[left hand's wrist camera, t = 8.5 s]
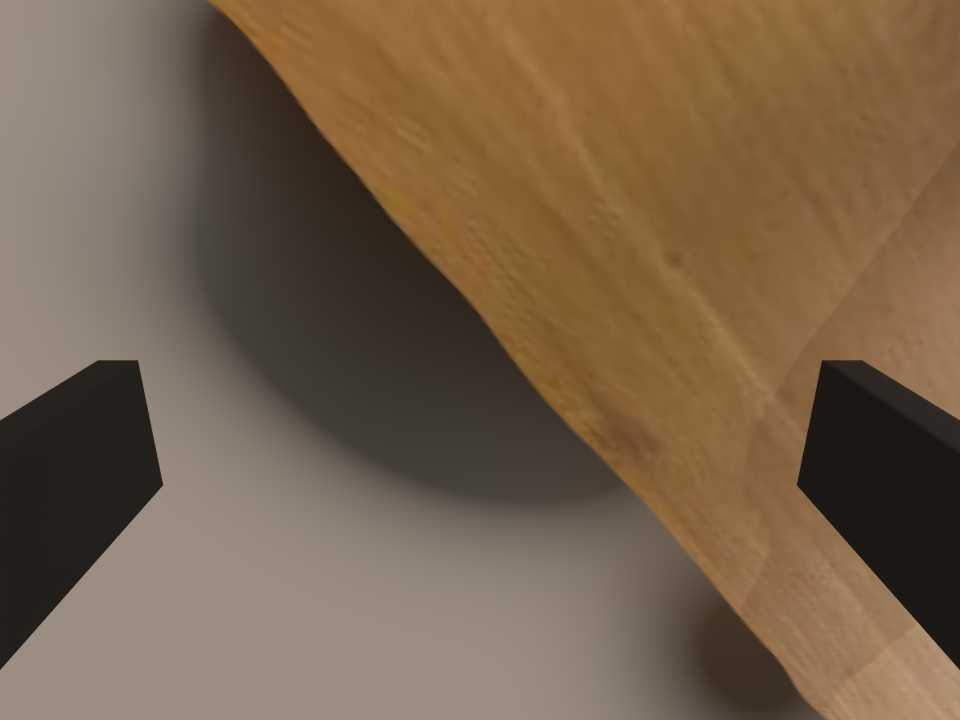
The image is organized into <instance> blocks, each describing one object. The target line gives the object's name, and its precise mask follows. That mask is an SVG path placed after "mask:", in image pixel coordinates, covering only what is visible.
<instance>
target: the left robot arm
mask: <svg viewBox="0 0 960 720" xmlns="http://www.w3.org/2000/svg"><path fill="white" fill-rule="evenodd" d="M162 486H163V482H162V477H161V472H160V467H159V462H158V458H157V453H156V448H155V443H154V438H153V433H152V428H151V423H150V418H149V413H148V408H147V403H146V398H145V393H144V388H143V383H142V378H141V373H140V368H139V363H138V361H137V360H98V361H96V362H95V363H93V364H91V365H90V366H88V367H86V368H85V369H83V370H82V371H80V372H78V373H77V374H75V375H74V376H72V377H70V378H69V379H67V380H65V381H64V382H62V383H60V384H59V385H57V386H56V387H54V388H52V389H51V390H49V391H47V392H46V393H44V394H43V395H41V396H39V397H38V398H36V399H34V400H33V401H31V402H29V403H28V404H26V405H25V406H23V407H21V408H20V409H18V410H16V411H15V412H13V413H12V414H10V415H8V416H7V417H5V418H3V419H2V420H0V670H1V668H2V667H3V666H4V665H5V664H6V663H7V662H8V660H9V659H10V658H11V657H12V656H13V655H14V654H15V653H16V651H17V650H18V649H19V648H20V647H21V646H22V645H23V643H24V642H25V641H26V640H27V639H28V638H29V637H30V635H31V634H32V633H33V632H34V631H35V630H36V629H37V628H38V626H39V625H40V624H41V623H42V622H43V621H44V620H45V619H46V617H47V616H48V615H49V614H50V613H51V612H52V611H53V609H54V608H55V607H56V606H57V605H58V604H59V603H60V602H61V600H62V599H63V598H64V597H65V596H66V595H67V594H68V592H69V591H70V590H71V589H72V588H73V587H74V586H75V584H76V583H77V582H78V581H79V580H80V579H81V578H82V577H83V575H84V574H85V573H86V572H87V571H88V570H89V569H90V567H91V566H92V565H93V564H94V563H95V562H96V561H97V560H98V558H99V557H100V556H101V555H102V554H103V553H104V552H105V550H106V549H107V548H108V547H109V546H110V545H111V544H112V543H113V541H114V540H115V539H116V538H117V537H118V536H119V535H120V533H121V532H122V531H123V530H124V529H125V528H126V527H127V526H128V524H129V523H130V522H131V521H132V520H133V519H134V518H135V516H136V515H137V514H138V513H139V512H140V511H141V510H142V509H143V507H144V506H145V505H146V504H147V503H148V502H149V501H150V499H151V498H152V497H153V496H154V495H155V494H156V493H157V492H158V490H159V489H160V488H161V487H162ZM797 486H798V487H799V488H800V489H801V490H802V492H803V493H804V494H805V495H806V496H807V497H808V498H809V499H810V501H811V502H812V503H813V504H814V505H815V506H816V507H817V509H818V510H819V511H820V512H821V513H822V514H823V515H824V516H825V518H826V519H827V520H828V521H829V522H830V523H831V524H832V526H833V527H834V528H835V529H836V530H837V531H838V532H839V533H840V535H841V536H842V537H843V538H844V539H845V540H846V541H847V543H848V544H849V545H850V546H851V547H852V548H853V549H854V550H855V552H856V553H857V554H858V555H859V556H860V557H861V558H862V560H863V561H864V562H865V563H866V564H867V565H868V566H869V567H870V569H871V570H872V571H873V572H874V573H875V574H876V575H877V577H878V578H879V579H880V580H881V581H882V582H883V583H884V585H885V586H886V587H887V588H888V589H889V590H890V591H891V592H892V594H893V595H894V596H895V597H896V598H897V599H898V600H899V602H900V603H901V604H902V605H903V606H904V607H905V608H906V609H907V611H908V612H909V613H910V614H911V615H912V616H913V617H914V619H915V620H916V621H917V622H918V623H919V624H920V625H921V626H922V628H923V629H924V630H925V631H926V632H927V633H928V634H929V636H930V637H931V638H932V639H933V640H934V641H935V642H936V643H937V645H938V646H939V647H940V648H941V649H942V650H943V651H944V653H945V654H946V655H947V656H948V657H949V658H950V659H951V660H952V662H953V663H954V664H955V665H956V666H957V667H958V668H959V670H960V420H958V419H957V418H955V417H953V416H952V415H950V414H948V413H947V412H945V411H944V410H942V409H940V408H939V407H937V406H935V405H934V404H932V403H931V402H929V401H927V400H926V399H924V398H922V397H921V396H919V395H918V394H916V393H914V392H913V391H911V390H909V389H908V388H906V387H905V386H903V385H901V384H900V383H898V382H896V381H895V380H893V379H891V378H890V377H888V376H887V375H885V374H883V373H882V372H880V371H878V370H877V369H875V368H874V367H872V366H870V365H869V364H867V363H865V362H864V361H862V360H822V363H821V368H820V373H819V378H818V383H817V388H816V393H815V398H814V403H813V408H812V413H811V418H810V423H809V428H808V433H807V438H806V443H805V448H804V452H803V457H802V462H801V467H800V472H799V477H798V482H797Z"/></svg>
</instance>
